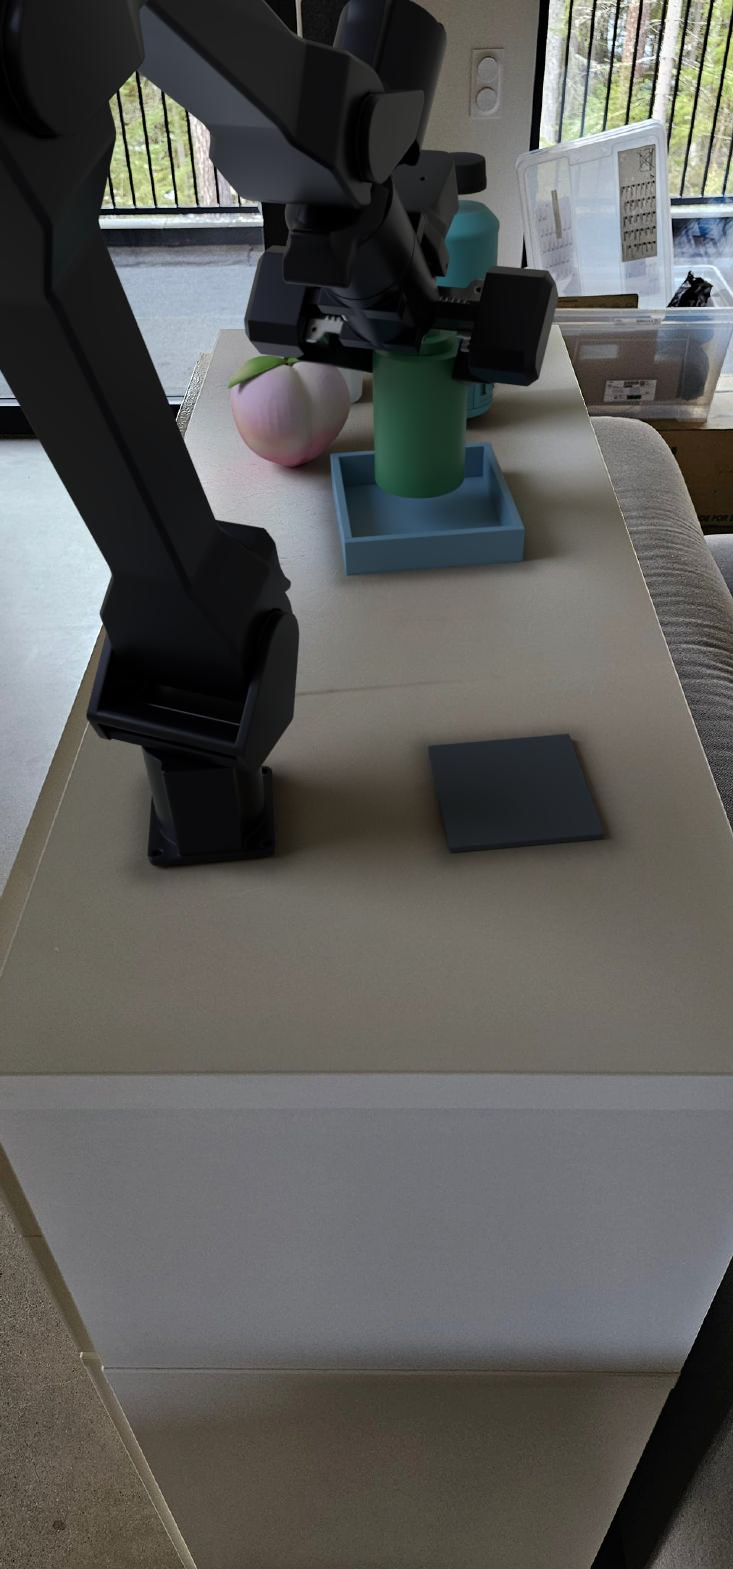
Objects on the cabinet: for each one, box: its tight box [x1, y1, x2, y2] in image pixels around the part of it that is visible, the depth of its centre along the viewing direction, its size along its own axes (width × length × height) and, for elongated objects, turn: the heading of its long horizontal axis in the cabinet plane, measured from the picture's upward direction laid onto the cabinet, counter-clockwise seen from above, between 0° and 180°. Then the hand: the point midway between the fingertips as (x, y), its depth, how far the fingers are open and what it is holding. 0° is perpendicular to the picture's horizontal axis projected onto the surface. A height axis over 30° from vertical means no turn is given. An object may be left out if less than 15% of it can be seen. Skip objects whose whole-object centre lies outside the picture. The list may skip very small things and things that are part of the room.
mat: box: [427, 733, 606, 853], centre depth 59 cm, size 8×8×1 cm
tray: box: [329, 441, 526, 576], centre depth 79 cm, size 13×12×3 cm
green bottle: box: [371, 329, 468, 499], centre depth 75 cm, size 6×6×12 cm
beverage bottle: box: [436, 151, 501, 419], centre depth 86 cm, size 6×7×20 cm
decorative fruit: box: [227, 354, 351, 468], centre depth 84 cm, size 9×8×10 cm
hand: (427, 373), depth 75 cm, fingers closed on green bottle, 6 cm apart
